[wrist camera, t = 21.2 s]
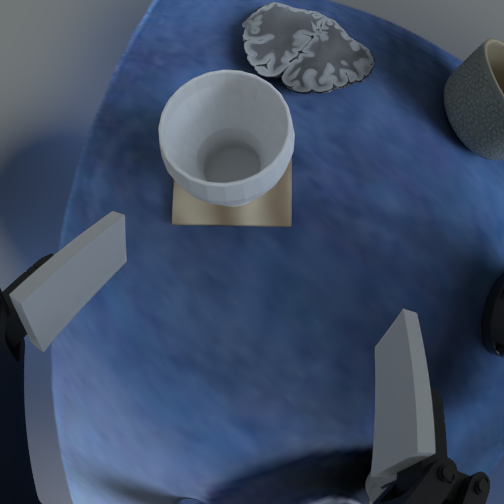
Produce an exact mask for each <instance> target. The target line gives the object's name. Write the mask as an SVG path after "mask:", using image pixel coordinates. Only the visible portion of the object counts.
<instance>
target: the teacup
mask: <svg viewBox="0 0 504 504" xmlns="http://www.w3.org/2000/svg"><path fill="white" fill-rule="evenodd" d="M394 480H397V473H396V474H394V475H392V476H390V477H372V476H371V472H370V474H369V475H368V477H367V479H366V483H365V487H366V491H367V494H368V496H369V498H370V501H369V503H368V504H372V503H373V502H374V501H375V500H376V499H377V498H378V497H379V496H380V495H381V494H382V493H383V492H384V491H385V490H386V489H387V488H384V489H381V488H380V487H382V486H383V485H385V484H387V483H390V482H392V481H394Z"/></svg>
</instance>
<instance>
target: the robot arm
mask: <svg viewBox="0 0 504 504" xmlns="http://www.w3.org/2000/svg"><path fill="white" fill-rule="evenodd" d="M126 262H127V258H126V237H125V215H123V214H120V213H117V212H114V211H112V212H110V213H109V214H107V215H106V216H105V217H103V218H102V219H100V220H99V221H98V222H96V223H95V224H94V225H92V226H91V227H90V228H88V229H87V230H86V231H84V232H83V233H82V234H80V235H79V236H78V237H76V238H75V239H74V240H73V241H71V242H70V243H69V244H67V245H66V246H65V247H64V248H62V249H61V250H60V251H59V252H57V253H56V254H55V255H54V254H49V255H47V256H45V257H43V258H41V259H40V260H38V261H37V262H36V263H35V264H34V265H33V267H30V268H29V269H28V270H27V272H24V273H23V274H22V275H21V276H20V277H19V278H17V279H16V280H15V281H14V282H13V283H12V284H11V285H10V286H8V287H7V288H6V289H5V290H4V291H3V292H2V291H1V289H0V504H42V503H41V502H40V501H39V499H38V496H37V492H36V488H35V484H34V479H33V474H32V469H31V462H30V456H29V449H28V441H27V432H26V421H25V407H24V406H25V405H24V354H25V341H24V337H25V336H26V335H28V337H29V339H30V341H31V343H32V344H34V345H35V346H36V347H38V348H39V349H40V350H42V351H44V350H46V348H47V347H48V346H49V345H50V344H51V342H52V341H53V340H54V339H55V338H56V337H57V335H58V334H59V333H60V332H61V331H62V330H63V329H64V327H65V326H66V325H67V324H68V323H69V322H70V321H71V320H72V319H73V317H74V316H75V315H76V314H77V313H78V312H79V311H80V310H81V309H82V308H83V306H84V305H85V304H86V303H87V302H88V301H89V300H90V299H91V298H92V297H93V296H94V295H95V294H96V293H97V292H98V290H99V289H100V288H101V287H102V286H103V285H104V284H105V283H106V282H107V281H108V280H109V279H110V278H111V277H112V276H113V275H114V274H115V273H116V272H117V271H118V270H119V269H120V268H121V267H122V266H123V265H124V264H125V263H126ZM482 333H483V340H484V344H485V346H486V348H487V349H488V351H489V352H491V353H492V354H495V355H497V356H500V357H504V274H503V275H502V276H501V277H500V278H499V279H498V280H497V281H496V283H495V284H494V286H493V288H492V290H491V292H490V294H489V296H488V299H487V302H486V306H485V310H484V315H483V323H482ZM443 411H444V410H443V402H442V398H441V396H440V394H439V391H438V389H437V388H433V387H430V382H429V375H428V368H427V362H426V356H425V350H424V345H423V339H422V334H421V330H420V325H419V320H418V316H417V313H415V312H412V311H409V310H406V309H402V311H401V312H400V314H399V315H398V317H397V318H396V319H395V321H394V322H393V324H392V325H391V326H390V328H389V329H388V331H387V332H386V333H385V335H384V336H383V337H382V339H381V340H380V341H379V342H378V344H377V345H376V346H375V424H374V442H373V456H372V467H371V476H372V477H390V476H392V475H394V474H396V473H397V480H394V481H392V482H390V483H387V484H385V485H383V486H382V487H380V488H381V489H384V488H387V489H386V490H385V491H384V492H383V493H382V494H381V495H380V496H379V497H378V498H377V499H376V500H375V501H374V502H373V503H372V504H485V503H486V500H487V497H488V494H489V489H490V481H489V478H488V476H487V475H486V474H485V473H484V472H477V473H475V474H473V475H471V476H469V475H466V474H464V473H461V472H459V471H457V467H456V465H455V463H454V462H453V460H451V459H450V458H448V457H447V444H446V430H445V422H444V413H443Z"/></svg>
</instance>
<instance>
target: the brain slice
mask: <svg viewBox="0 0 504 504" xmlns="http://www.w3.org/2000/svg"><path fill="white" fill-rule="evenodd" d="M242 27H243V28H244V30H243V35H242V38H243V41H245V43H244V47H243V48H244V51H245V53H246V55H247V60H248V62H249V64H250V65H251V66H253V67H254V68H255V71H256V72H257V73H258V74H259V75H261V76H263V77H265V78H276V77H278V78H279V77H282V81H283V84H284V85H285V86H286V87H287V88H288V89H290V90H292V91H295V92H297V93H302V94H307V93H310V92H315V93H327V92H331V91H332V90H337V89H341V88H344V87H347V86H349V85H351V84H354V83H359V82H362V81H363V80H364V79H365V78H366V77H368V76H369V75H370V74H371V72H372V70H373V67H372V66H373V64H374V63H375V59H374V56H373V54H372V53H371V51H370V50H369V49H368V48H366V47H364V46H363V45H362V44H360V43H359V42H357V41H355V40H354V39H352V38H351V37H349V35H348V34H347V33H346V32H345V30H344V29H343V28H341V27H340V26H339V24H338V23H337V22H336V21H334V20H333V19H330V18H327V17H326V16H324V15H322V14H320V13H318V12H316V11H309V10H304V9H297V8H292V7H290V6H288V5H284V4H281V3H275V2H274V3H269V4H267V5H264V6H262V7H261V8H259V9H258V10H256V12H254V13H253V14H252V15H250V16H249V17H248V18H247V19H246V20H245V21H244V22H243V23H242Z"/></svg>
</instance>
